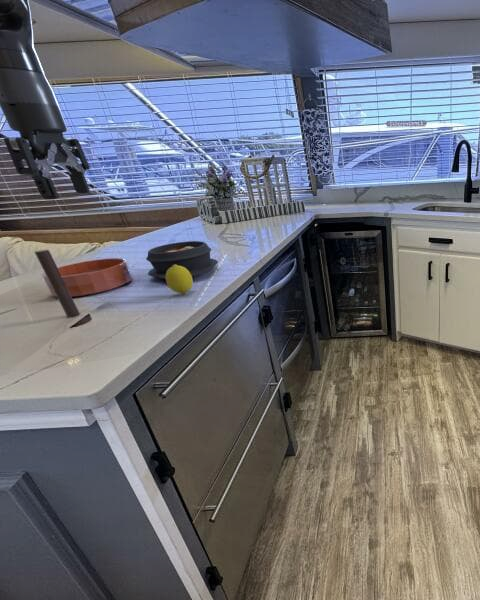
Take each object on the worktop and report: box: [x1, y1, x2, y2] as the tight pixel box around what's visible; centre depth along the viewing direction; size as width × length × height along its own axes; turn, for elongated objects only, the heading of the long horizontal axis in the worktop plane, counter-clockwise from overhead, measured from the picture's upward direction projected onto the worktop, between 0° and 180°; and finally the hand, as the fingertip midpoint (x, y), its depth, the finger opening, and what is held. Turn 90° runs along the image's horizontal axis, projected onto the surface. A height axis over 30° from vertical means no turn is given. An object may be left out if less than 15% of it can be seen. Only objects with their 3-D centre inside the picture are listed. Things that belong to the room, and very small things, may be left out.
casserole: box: [145, 240, 219, 280], centre depth 99 cm, size 25×19×8 cm
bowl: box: [41, 257, 133, 298], centre depth 90 cm, size 17×17×6 cm
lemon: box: [165, 265, 194, 295], centre depth 81 cm, size 6×6×8 cm
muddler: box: [34, 249, 93, 329], centre depth 66 cm, size 5×5×16 cm
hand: (68, 195), depth 65 cm, fingers open, 8 cm apart
